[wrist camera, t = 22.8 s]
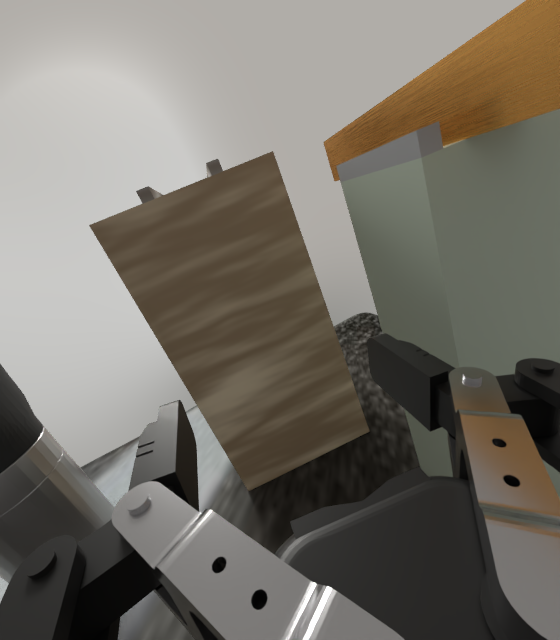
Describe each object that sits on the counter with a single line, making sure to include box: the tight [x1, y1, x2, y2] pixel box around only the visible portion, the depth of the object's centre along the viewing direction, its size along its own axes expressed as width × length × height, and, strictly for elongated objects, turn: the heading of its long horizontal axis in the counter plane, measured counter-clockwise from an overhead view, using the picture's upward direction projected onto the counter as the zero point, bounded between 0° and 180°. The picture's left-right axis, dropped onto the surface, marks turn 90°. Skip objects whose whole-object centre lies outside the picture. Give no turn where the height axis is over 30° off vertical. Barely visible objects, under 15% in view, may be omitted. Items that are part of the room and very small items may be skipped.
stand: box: [90, 151, 370, 491], centre depth 37 cm, size 14×16×33 cm
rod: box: [324, 0, 560, 181], centre depth 13 cm, size 24×3×3 cm, turn 13°
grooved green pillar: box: [336, 109, 560, 498], centre depth 21 cm, size 8×7×29 cm
